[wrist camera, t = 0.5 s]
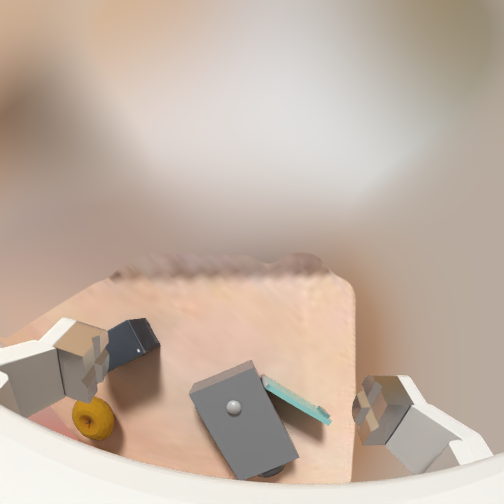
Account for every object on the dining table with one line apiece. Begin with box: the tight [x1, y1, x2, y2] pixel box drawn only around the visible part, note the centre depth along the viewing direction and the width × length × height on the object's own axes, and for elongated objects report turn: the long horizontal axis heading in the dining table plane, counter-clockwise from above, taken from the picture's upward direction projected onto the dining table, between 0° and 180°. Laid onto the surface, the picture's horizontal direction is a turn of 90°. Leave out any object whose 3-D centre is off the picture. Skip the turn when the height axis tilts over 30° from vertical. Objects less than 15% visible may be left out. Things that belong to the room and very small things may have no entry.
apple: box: [72, 397, 115, 440], centre depth 49 cm, size 9×9×9 cm
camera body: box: [189, 360, 299, 480], centre depth 51 cm, size 22×12×8 cm, turn 25°
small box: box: [105, 318, 160, 372], centre depth 51 cm, size 11×6×10 cm, turn 120°
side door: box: [261, 375, 332, 425], centre depth 53 cm, size 14×2×7 cm, turn 55°
